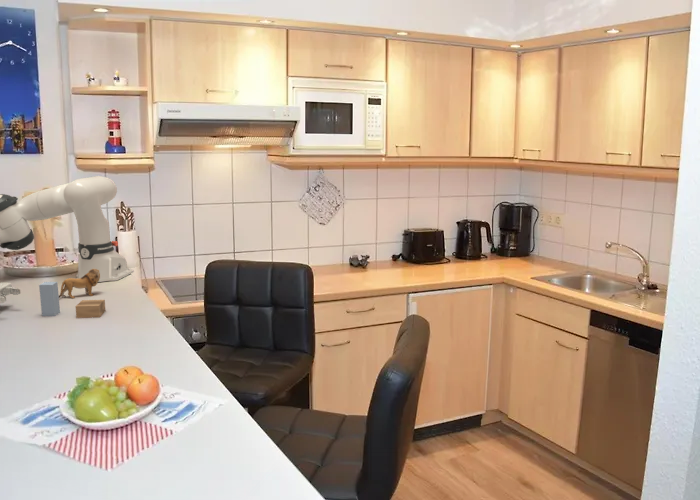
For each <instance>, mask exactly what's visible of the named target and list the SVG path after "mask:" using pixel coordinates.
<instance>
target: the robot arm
mask: <svg viewBox="0 0 700 500" xmlns="http://www.w3.org/2000/svg"><path fill="white" fill-rule="evenodd" d="M117 192H118V188H117V185H116V183H115V182H114V180H113V179H111V178H110V177H106V176H104V175H103V176H102V175H96V176H90V177H84V178H82V177H81V178H76V179H74V180H73V181H71V182H68V183H64V184H60V185H56V186H51V187H48V188H45V189H42V190H41V189H40V190H38V191H35V192H33V193H30V194H28V195H25V196H24V197H23V198H22V197H21V199H19V198H18V197H17V196H12V195H9V194H5V193H1V194H0V248H1V249H8V250H11V251H19V250H21V249H25V248H26V247H28V246H30V245H31V244H32V243H33V241H34V239H35V235H34V232H33V229H32V228H31V227H30V225H29V223H28V221H30V222H35V221H44V220H48V219H53V218H56V217H61V216H64V215H68V214H71V213H73V214H74V216H75V220H76V223H77V231H78V241H79V242H78V243H77V245H78V246H77V249H78V253H79V255H78V261H77V263H78V264H77V273H76V279H79V278H82V277H83V276H84V275H85V274H87V273H88V272H89V271H90V270H91V269H97V270H99V273H100V279H99V281H98V282H97V283H100V282H101V283H103V282H111V281H119V280H120V279H123V278H126V277H127V276H129V275H130V274H133V273H134V272H135V271H134V269H132V268H128V264H127V259H126V257H124V256H123V255H121V254H120V253H119V252H117V251H116V250H115V248H114V247H118V245H119V242H118V241H117V240H112V241H111V234H110V232H111V231H110V222H109V220H108V218H107V217H105V215H104V212H103V209H102V205H106V204H108V203H109V202H111V201H112V200H113V199H114V198H115V197H116V196H117ZM18 199H19V200H18ZM21 291H22V290H21V288H20V287H19V288H18V287H17V288H16V287H14V286H12V283H11V282H0V304H3V303H5V302H7V296H9V295H13V296H17V295H20V294H21V293H22V292H21Z"/></svg>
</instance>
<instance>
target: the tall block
mask: <svg viewBox="0 0 700 500" xmlns="http://www.w3.org/2000/svg"><path fill="white" fill-rule="evenodd" d="M58 283H59V282H58V281H44V282H42V283H40V284H38V287H39V299H40V309H41V310H40V311H41V316H42V317H55V316H58V315H59V314H60V313H61V309H60V308H61V307H60V298H59V295H60V293H59V285H58Z"/></svg>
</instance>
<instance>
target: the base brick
mask: <svg viewBox="0 0 700 500" xmlns="http://www.w3.org/2000/svg"><path fill="white" fill-rule="evenodd" d="M106 310H107V309H106V300H105V299H81V300H80V301H79V303H77V304H76V305H75V317H76V319H84V318H85V319H88V318H92V317H93V319H94V318H101V317H102V316H103V315H104V313H105V312H106Z"/></svg>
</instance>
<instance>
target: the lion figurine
mask: <svg viewBox="0 0 700 500" xmlns="http://www.w3.org/2000/svg"><path fill="white" fill-rule="evenodd" d="M99 279H100V273H99V270H97V269H91V270H90V271H89V272H88V273H87V274H85V275H84V276H83V277H82V278H79V279H78V278H74V277H73V278H72V277H70V278H66V279H65V280H63V281H62V284H61V287H60V292H59V299H61V297H62V298H65V297H66V294H65V292H67V294H68V297H70V299H76V296H74V295H72V292H73V288H75V289H80V290H81V289H84V290H85V294H86V295H87V296H89V297H93V296H94V294H93V293H92V290H93V287H95V286H97V285H98V283H99V282H98V281H99Z"/></svg>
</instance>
